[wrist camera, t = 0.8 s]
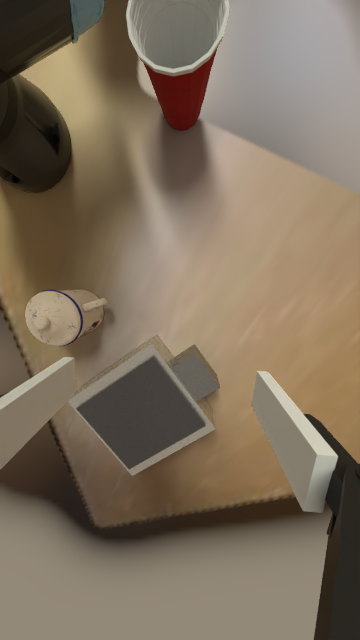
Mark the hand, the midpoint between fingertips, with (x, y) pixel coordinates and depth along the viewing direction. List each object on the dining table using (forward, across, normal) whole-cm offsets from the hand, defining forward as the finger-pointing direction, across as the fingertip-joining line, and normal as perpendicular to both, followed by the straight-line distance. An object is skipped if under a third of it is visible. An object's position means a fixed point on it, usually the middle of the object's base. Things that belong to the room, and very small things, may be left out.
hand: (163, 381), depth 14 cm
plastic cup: (+26, -2, +34) cm, 43 cm away
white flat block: (+25, -4, -17) cm, 30 cm away
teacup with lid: (+25, -18, 0) cm, 31 cm away
